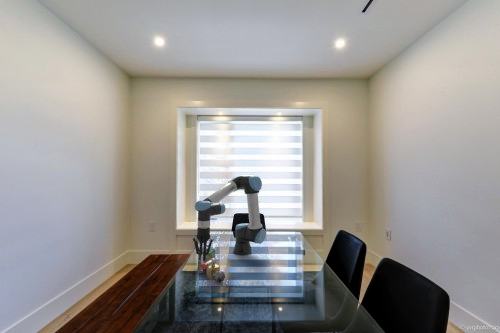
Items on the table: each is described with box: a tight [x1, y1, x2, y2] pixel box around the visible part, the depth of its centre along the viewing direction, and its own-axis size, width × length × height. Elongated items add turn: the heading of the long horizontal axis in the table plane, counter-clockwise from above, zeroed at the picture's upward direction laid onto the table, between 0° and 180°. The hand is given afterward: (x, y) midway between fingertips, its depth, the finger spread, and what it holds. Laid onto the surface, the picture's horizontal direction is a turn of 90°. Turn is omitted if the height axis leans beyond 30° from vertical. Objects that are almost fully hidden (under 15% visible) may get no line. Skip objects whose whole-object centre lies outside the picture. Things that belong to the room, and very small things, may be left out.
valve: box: [202, 263, 226, 284], centre depth 141 cm, size 18×6×9 cm, turn 39°
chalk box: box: [197, 244, 216, 269], centre depth 156 cm, size 9×9×15 cm
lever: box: [199, 257, 217, 272], centre depth 136 cm, size 14×4×2 cm, turn 154°
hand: (202, 265), depth 135 cm, fingers closed
